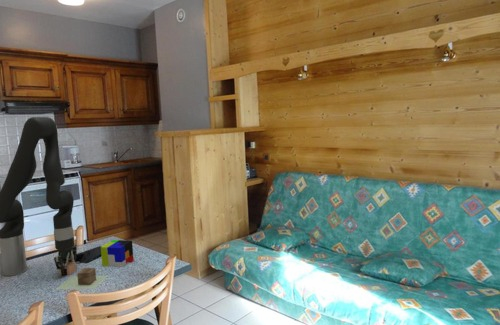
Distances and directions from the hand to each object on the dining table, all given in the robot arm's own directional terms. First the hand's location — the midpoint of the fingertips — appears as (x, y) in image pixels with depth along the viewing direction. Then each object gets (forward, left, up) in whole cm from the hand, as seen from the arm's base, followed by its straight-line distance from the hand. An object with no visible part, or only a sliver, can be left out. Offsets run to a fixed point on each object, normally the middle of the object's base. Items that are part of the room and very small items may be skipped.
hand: (68, 273), depth 157 cm
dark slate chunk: (-3, +20, -1) cm, 20 cm away
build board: (+12, -10, 0) cm, 16 cm away
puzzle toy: (+18, +11, -1) cm, 21 cm away
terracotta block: (0, 0, 0) cm, 0 cm away
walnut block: (+14, -10, +1) cm, 17 cm away
